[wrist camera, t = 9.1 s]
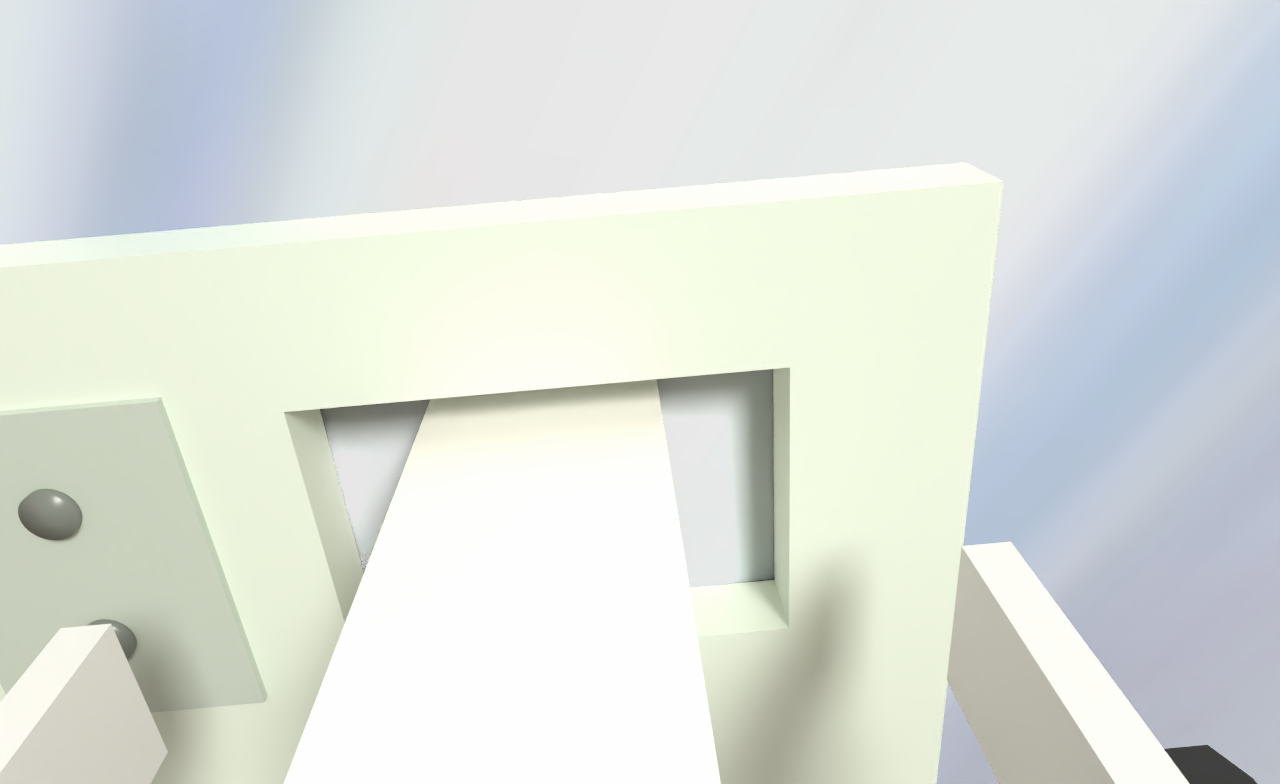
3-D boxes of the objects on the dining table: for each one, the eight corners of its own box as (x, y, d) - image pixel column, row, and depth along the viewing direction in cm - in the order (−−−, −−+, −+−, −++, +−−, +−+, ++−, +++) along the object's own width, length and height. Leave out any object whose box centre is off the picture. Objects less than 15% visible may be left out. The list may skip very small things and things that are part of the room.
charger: (467, 580, 19) (314, 1319, 9) (430, 399, 17) (172, 1072, 7) (669, 562, 19) (763, 1273, 9) (656, 379, 17) (757, 1016, 7)
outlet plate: (64, 860, 22) (19, 937, 20) (-269, 267, 15) (-383, 306, 13) (908, 781, 22) (935, 850, 21) (965, 162, 15) (1013, 187, 14)
